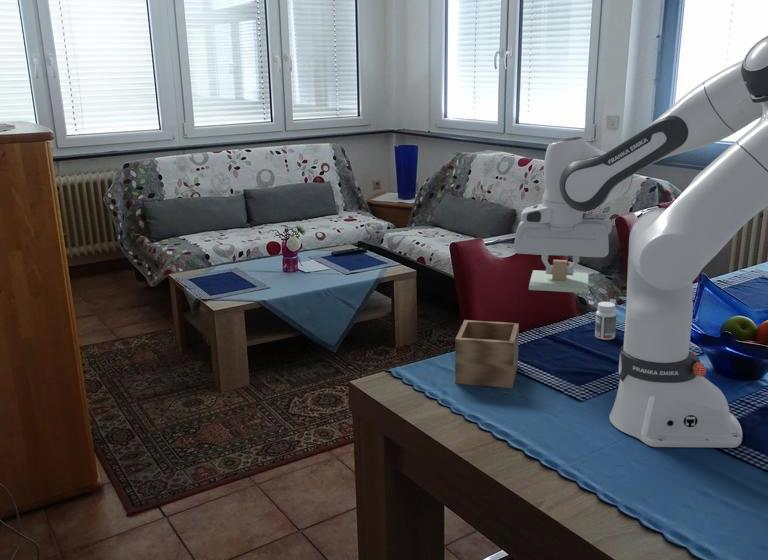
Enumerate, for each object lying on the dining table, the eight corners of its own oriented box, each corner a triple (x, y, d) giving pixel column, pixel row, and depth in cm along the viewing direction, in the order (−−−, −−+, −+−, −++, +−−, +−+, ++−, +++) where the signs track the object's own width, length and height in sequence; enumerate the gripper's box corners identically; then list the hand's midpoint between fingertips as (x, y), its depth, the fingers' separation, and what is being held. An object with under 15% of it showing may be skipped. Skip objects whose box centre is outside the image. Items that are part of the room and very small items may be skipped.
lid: (588, 277, 166) (589, 256, 165) (587, 293, 155) (589, 270, 154) (532, 274, 170) (533, 253, 168) (528, 289, 158) (529, 267, 157)
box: (517, 365, 162) (518, 323, 159) (512, 388, 151) (513, 343, 148) (464, 361, 165) (464, 319, 162) (455, 383, 154) (455, 339, 151)
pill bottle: (617, 335, 178) (619, 302, 176) (612, 341, 174) (614, 308, 172) (598, 332, 180) (599, 300, 178) (592, 338, 177) (594, 305, 174)
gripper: (612, 211, 158) (608, 272, 162) (516, 208, 163) (515, 268, 167) (613, 217, 152) (608, 280, 156) (514, 214, 157) (512, 275, 161)
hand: (559, 274), depth 162 cm, fingers closed on lid, 3 cm apart
